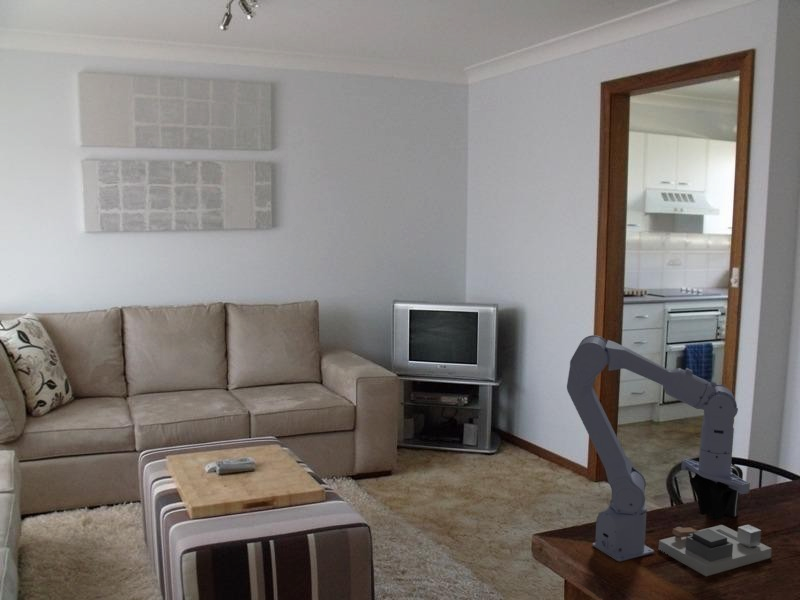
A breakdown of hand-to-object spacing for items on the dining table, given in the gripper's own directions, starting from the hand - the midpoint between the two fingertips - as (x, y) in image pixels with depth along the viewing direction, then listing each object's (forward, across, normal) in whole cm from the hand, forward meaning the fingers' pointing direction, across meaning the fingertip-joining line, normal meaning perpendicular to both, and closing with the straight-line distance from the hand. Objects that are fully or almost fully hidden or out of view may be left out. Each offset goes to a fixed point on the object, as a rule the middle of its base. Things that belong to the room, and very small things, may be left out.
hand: (711, 516), depth 145 cm
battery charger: (+10, +16, -23) cm, 30 cm away
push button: (+6, 0, 0) cm, 6 cm away
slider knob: (+7, -1, -10) cm, 12 cm away
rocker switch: (+6, +6, 0) cm, 8 cm away
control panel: (+9, +2, -4) cm, 10 cm away
